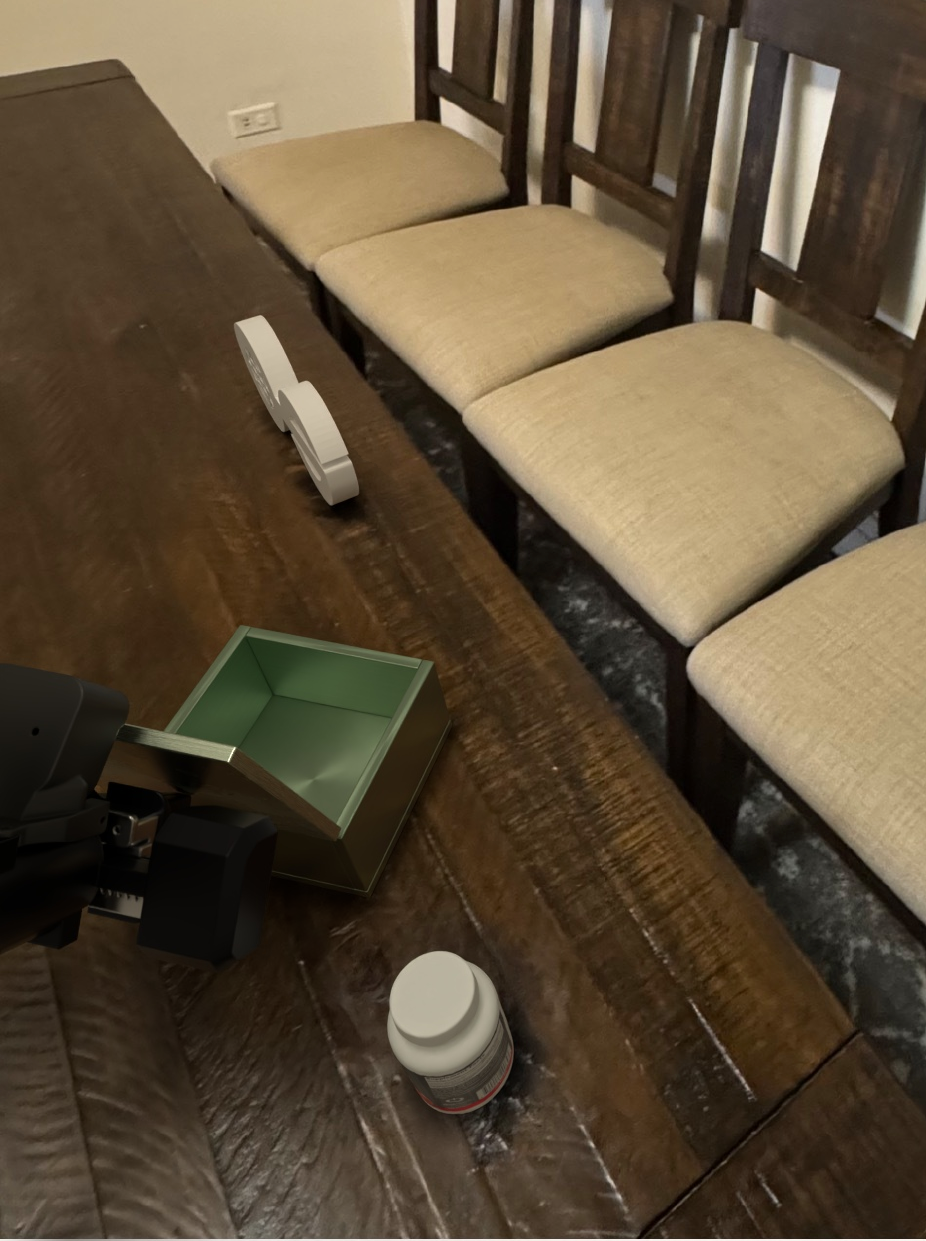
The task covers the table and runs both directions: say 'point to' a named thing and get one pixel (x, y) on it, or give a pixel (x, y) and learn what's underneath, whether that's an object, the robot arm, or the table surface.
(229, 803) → the bin lid
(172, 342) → the table surface
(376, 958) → the table surface
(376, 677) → the bin
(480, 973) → the pill bottle
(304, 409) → the letter
